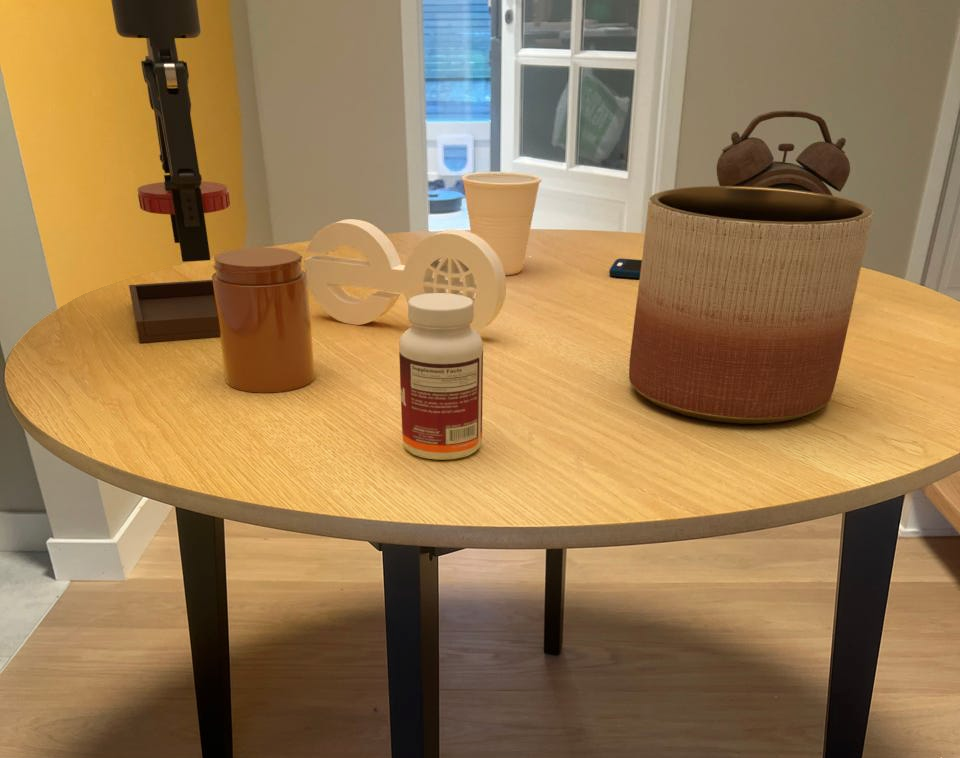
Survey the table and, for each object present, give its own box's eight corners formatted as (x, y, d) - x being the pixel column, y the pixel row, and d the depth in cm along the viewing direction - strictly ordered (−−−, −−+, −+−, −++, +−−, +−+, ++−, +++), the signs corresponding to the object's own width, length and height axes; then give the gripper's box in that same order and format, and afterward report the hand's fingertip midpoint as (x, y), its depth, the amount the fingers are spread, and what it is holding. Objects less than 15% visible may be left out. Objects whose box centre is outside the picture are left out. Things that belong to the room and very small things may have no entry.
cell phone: (615, 263, 126) (616, 257, 126) (721, 271, 123) (722, 265, 123) (607, 276, 120) (608, 269, 120) (718, 284, 117) (719, 278, 117)
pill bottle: (418, 427, 76) (415, 286, 70) (491, 437, 75) (495, 293, 69) (390, 456, 71) (384, 307, 65) (467, 467, 70) (469, 315, 64)
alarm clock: (701, 317, 105) (731, 113, 94) (687, 301, 111) (714, 107, 100) (829, 319, 106) (874, 115, 94) (809, 302, 112) (848, 109, 100)
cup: (445, 269, 122) (444, 176, 116) (498, 258, 128) (500, 169, 122) (500, 283, 116) (502, 186, 110) (552, 271, 122) (558, 178, 116)
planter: (874, 409, 82) (925, 213, 73) (717, 445, 74) (754, 231, 65) (733, 353, 94) (762, 180, 85) (587, 379, 87) (603, 192, 78)
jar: (231, 396, 81) (214, 269, 76) (220, 368, 88) (204, 249, 82) (323, 387, 84) (313, 263, 78) (306, 361, 90) (295, 244, 84)
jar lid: (224, 198, 100) (222, 179, 99) (234, 212, 93) (232, 192, 92) (138, 201, 98) (135, 182, 97) (142, 216, 91) (138, 196, 90)
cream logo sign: (504, 339, 97) (507, 234, 91) (496, 344, 95) (499, 239, 90) (319, 313, 104) (312, 215, 98) (309, 318, 102) (300, 218, 97)
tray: (139, 343, 94) (135, 321, 93) (132, 304, 106) (128, 284, 105) (274, 332, 98) (272, 311, 96) (252, 295, 110) (250, 277, 108)
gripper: (207, -15, 78) (242, 271, 91) (184, -12, 95) (216, 229, 107) (112, -17, 76) (161, 276, 88) (105, -14, 93) (148, 232, 105)
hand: (191, 250), depth 98 cm, fingers closed on jar lid, 9 cm apart
